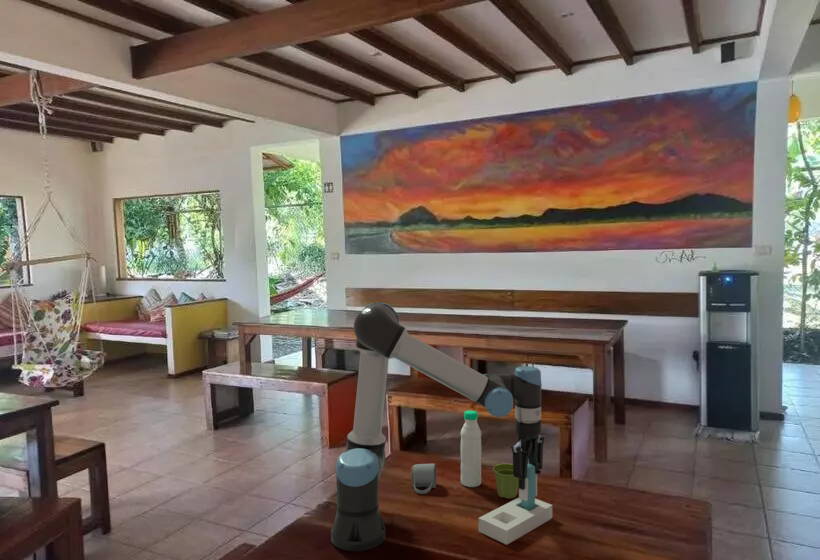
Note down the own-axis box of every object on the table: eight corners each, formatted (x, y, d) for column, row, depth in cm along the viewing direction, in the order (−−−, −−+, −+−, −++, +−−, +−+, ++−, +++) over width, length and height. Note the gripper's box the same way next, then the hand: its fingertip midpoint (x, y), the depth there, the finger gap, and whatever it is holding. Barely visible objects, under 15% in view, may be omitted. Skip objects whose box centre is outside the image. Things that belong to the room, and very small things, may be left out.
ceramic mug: (413, 480, 199) (412, 459, 199) (436, 481, 198) (436, 460, 198) (409, 494, 189) (409, 472, 188) (434, 495, 188) (434, 473, 187)
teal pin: (518, 515, 172) (518, 466, 171) (526, 510, 175) (526, 462, 174) (529, 519, 169) (529, 469, 168) (537, 515, 172) (537, 466, 171)
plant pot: (527, 498, 185) (527, 472, 185) (502, 503, 182) (502, 476, 181) (512, 486, 194) (512, 461, 193) (487, 491, 190) (487, 466, 190)
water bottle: (484, 482, 198) (484, 410, 196) (475, 489, 192) (475, 416, 190) (466, 477, 202) (466, 407, 200) (456, 485, 196) (456, 412, 194)
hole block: (478, 531, 164) (478, 517, 164) (524, 506, 179) (524, 494, 179) (506, 544, 157) (506, 530, 157) (552, 518, 172) (552, 505, 172)
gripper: (521, 429, 161) (521, 510, 163) (555, 416, 173) (555, 491, 174) (500, 423, 167) (500, 501, 168) (534, 410, 178) (534, 484, 180)
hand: (528, 496), depth 171 cm, fingers closed on teal pin, 4 cm apart
